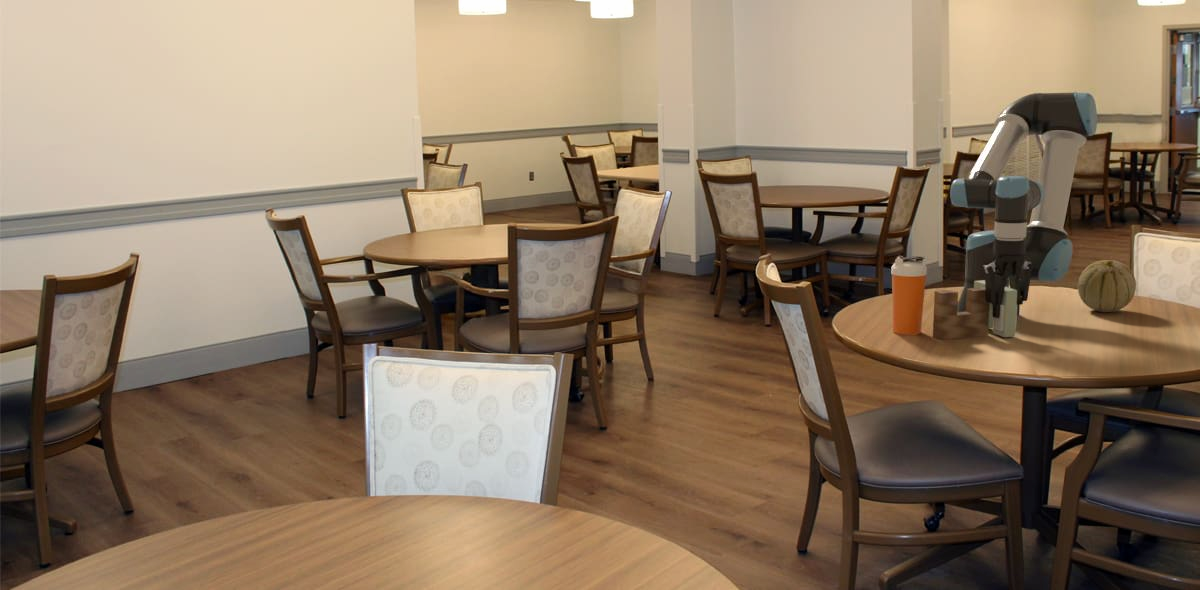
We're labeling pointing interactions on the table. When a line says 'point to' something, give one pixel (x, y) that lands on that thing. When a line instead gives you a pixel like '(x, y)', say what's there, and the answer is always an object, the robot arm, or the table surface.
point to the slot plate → (1009, 311)
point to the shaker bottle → (908, 294)
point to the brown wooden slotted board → (960, 314)
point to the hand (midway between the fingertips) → (1005, 329)
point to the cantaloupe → (1107, 286)
